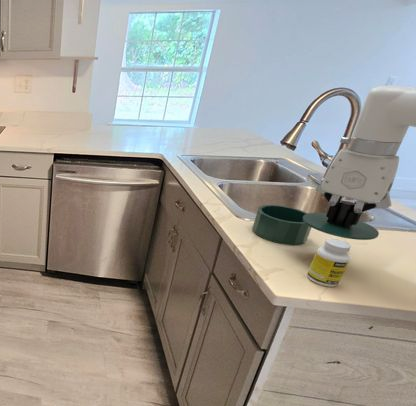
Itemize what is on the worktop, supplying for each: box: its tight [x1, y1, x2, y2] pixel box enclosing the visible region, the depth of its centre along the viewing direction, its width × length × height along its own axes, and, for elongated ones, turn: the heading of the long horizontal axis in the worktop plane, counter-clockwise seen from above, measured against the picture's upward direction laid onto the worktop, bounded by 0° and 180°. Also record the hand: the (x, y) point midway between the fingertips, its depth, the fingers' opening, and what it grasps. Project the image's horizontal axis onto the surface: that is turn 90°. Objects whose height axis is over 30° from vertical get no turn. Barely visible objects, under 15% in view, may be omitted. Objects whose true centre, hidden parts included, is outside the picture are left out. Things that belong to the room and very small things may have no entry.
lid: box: [303, 200, 380, 241], centre depth 84 cm, size 13×13×7 cm
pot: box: [251, 204, 313, 246], centre depth 101 cm, size 12×12×6 cm
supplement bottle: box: [306, 238, 352, 288], centre depth 81 cm, size 5×5×10 cm
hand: (339, 223), depth 85 cm, fingers closed on lid, 2 cm apart
